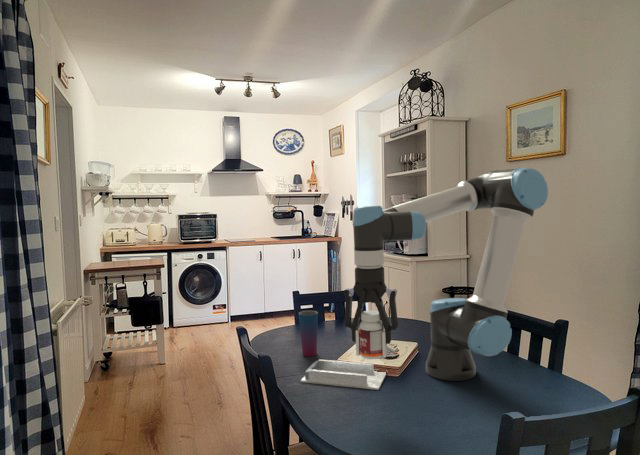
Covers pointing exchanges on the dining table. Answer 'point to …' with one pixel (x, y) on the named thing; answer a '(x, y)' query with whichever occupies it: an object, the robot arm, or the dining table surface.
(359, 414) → the dining table surface
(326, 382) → the white shallow tray
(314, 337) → the cup
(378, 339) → the pill bottle
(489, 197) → the robot arm
